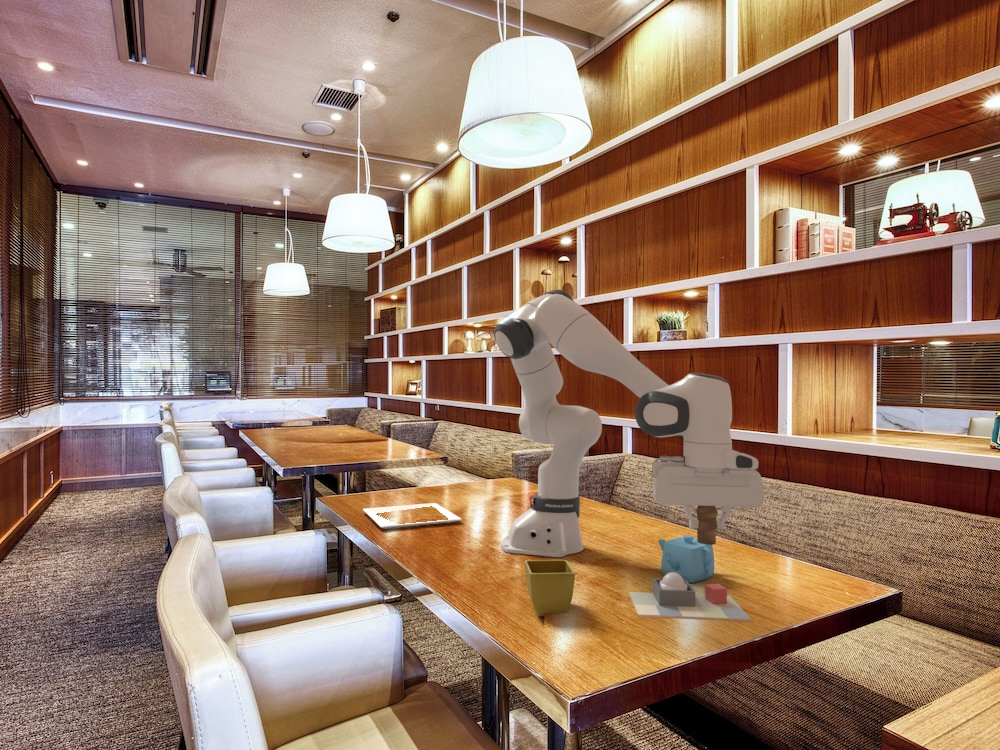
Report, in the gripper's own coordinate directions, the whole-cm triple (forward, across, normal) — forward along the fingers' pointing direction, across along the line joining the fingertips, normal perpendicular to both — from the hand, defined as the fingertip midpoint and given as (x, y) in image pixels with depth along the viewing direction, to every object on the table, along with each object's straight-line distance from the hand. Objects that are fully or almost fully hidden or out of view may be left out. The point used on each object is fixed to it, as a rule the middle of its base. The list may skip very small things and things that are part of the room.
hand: (706, 528), depth 112 cm
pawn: (+2, 0, 0) cm, 3 cm away
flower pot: (+18, -30, 0) cm, 35 cm away
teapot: (+17, +1, +23) cm, 29 cm away
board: (+17, -3, +4) cm, 18 cm away
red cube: (+16, +4, +7) cm, 18 cm away
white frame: (+18, -76, +71) cm, 106 cm away
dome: (+16, -5, +7) cm, 18 cm away
